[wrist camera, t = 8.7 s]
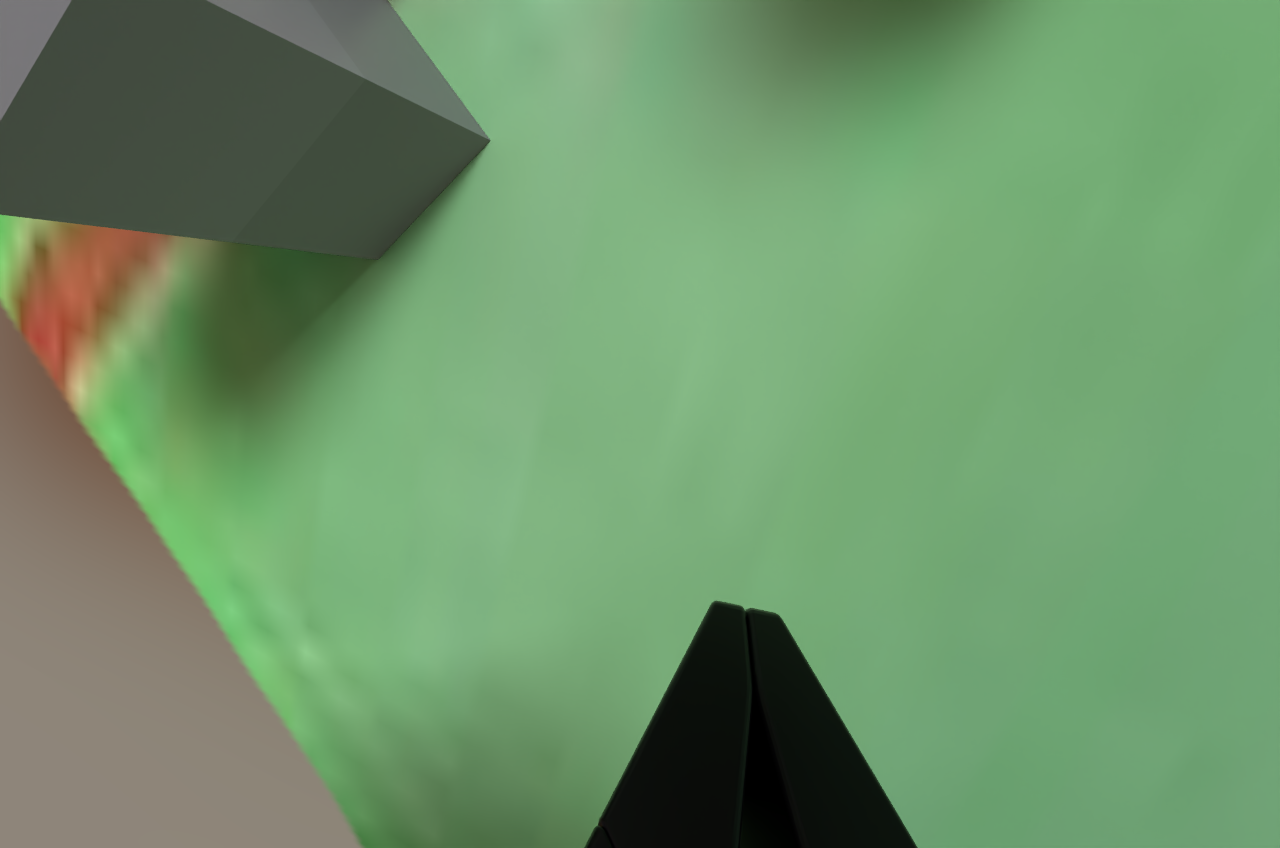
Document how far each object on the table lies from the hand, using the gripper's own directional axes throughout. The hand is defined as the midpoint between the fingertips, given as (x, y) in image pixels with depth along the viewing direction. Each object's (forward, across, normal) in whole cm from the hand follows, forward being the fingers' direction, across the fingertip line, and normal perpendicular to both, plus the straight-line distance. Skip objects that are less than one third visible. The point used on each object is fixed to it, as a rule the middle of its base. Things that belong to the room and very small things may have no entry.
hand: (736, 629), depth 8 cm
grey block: (+19, +16, -4) cm, 25 cm away
